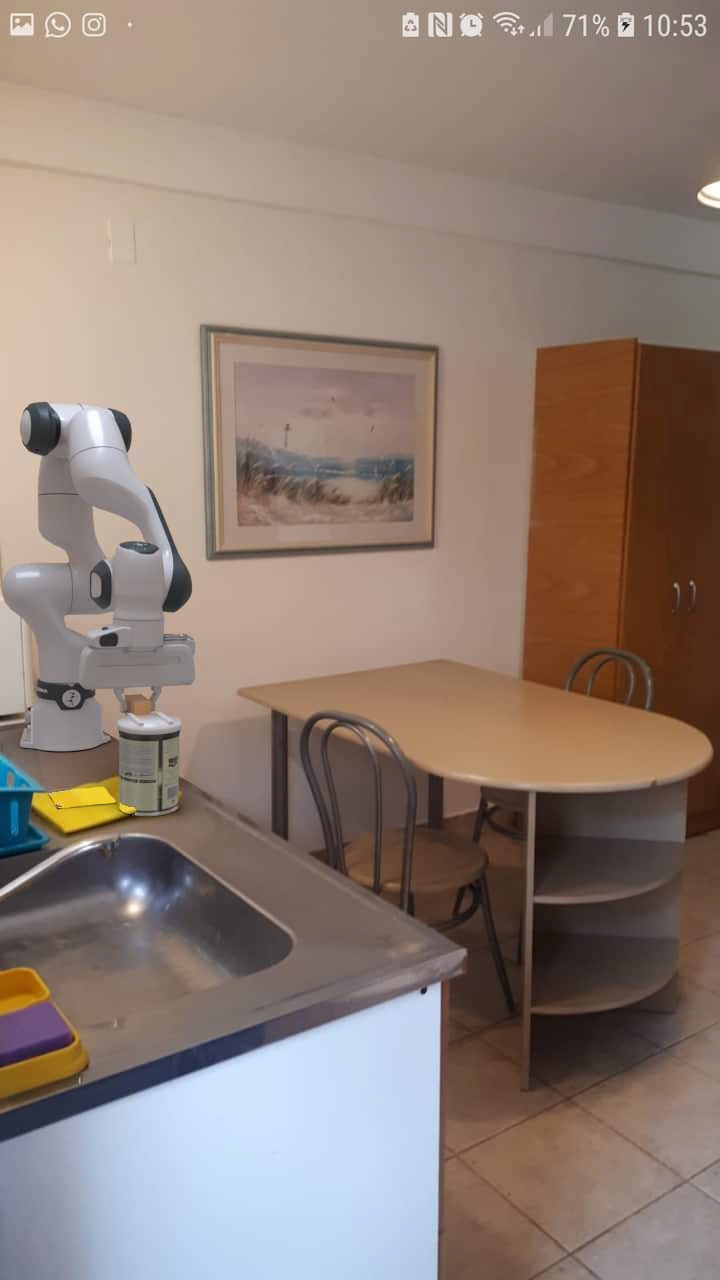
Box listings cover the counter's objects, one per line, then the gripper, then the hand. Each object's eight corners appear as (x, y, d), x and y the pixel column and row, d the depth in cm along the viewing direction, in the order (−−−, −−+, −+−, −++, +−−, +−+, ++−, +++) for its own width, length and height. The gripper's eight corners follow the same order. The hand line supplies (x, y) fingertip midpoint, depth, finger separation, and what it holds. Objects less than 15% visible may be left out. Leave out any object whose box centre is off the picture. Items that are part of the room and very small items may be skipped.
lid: (103, 715, 170) (103, 695, 169) (161, 711, 174) (161, 693, 174) (126, 736, 154) (126, 715, 154) (189, 732, 159) (189, 711, 159)
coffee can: (124, 797, 168) (125, 720, 166) (183, 799, 168) (184, 722, 167) (111, 816, 158) (112, 733, 156) (173, 817, 158) (175, 735, 157)
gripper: (190, 631, 175) (188, 705, 176) (76, 633, 165) (76, 711, 167) (200, 635, 169) (199, 711, 171) (83, 638, 160) (83, 718, 161)
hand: (137, 711), depth 169 cm, fingers closed on lid, 3 cm apart
